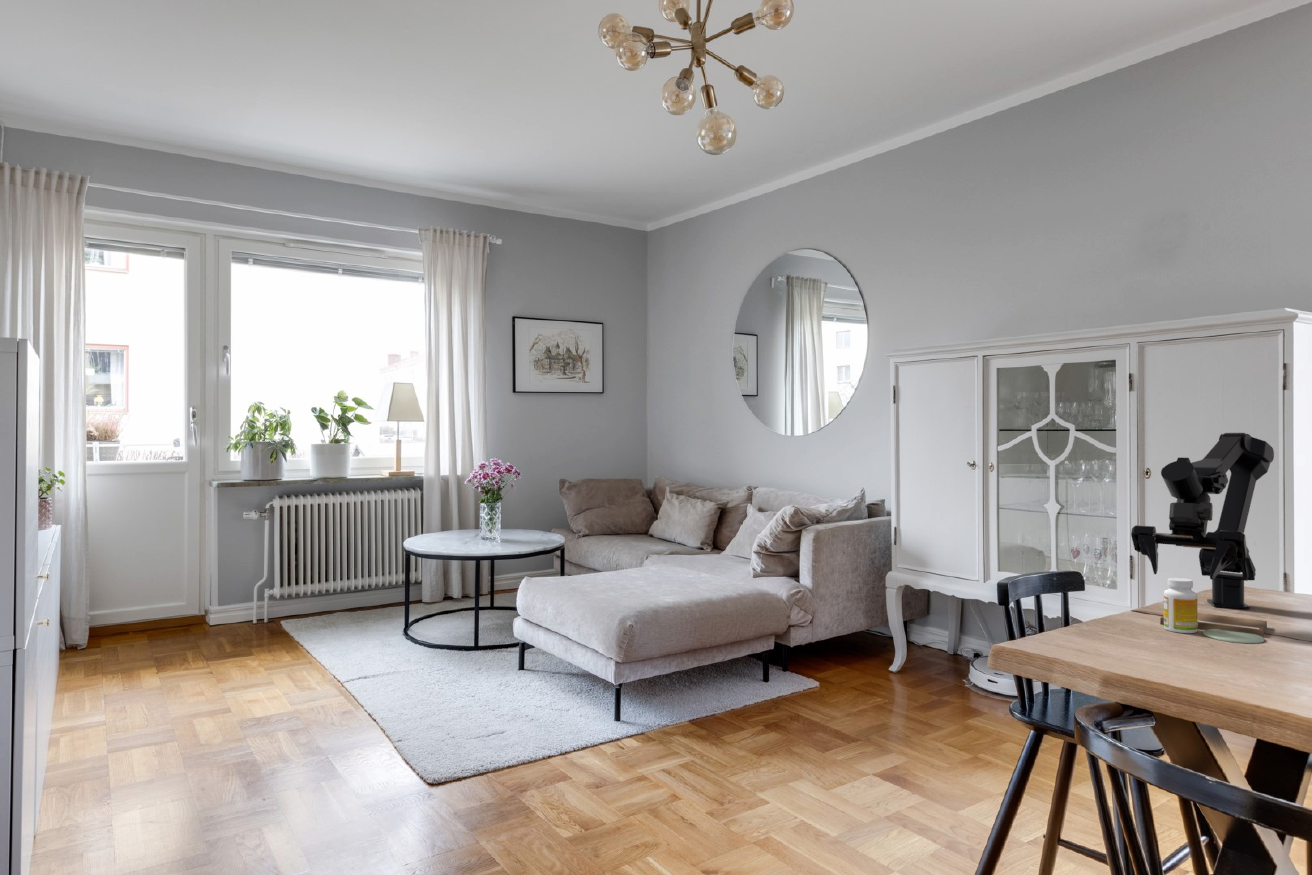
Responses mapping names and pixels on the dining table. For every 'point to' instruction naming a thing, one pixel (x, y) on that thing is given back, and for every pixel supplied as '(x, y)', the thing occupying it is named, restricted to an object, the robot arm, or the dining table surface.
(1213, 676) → the dining table surface
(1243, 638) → the end pad
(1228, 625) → the walnut board
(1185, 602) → the supplement bottle
